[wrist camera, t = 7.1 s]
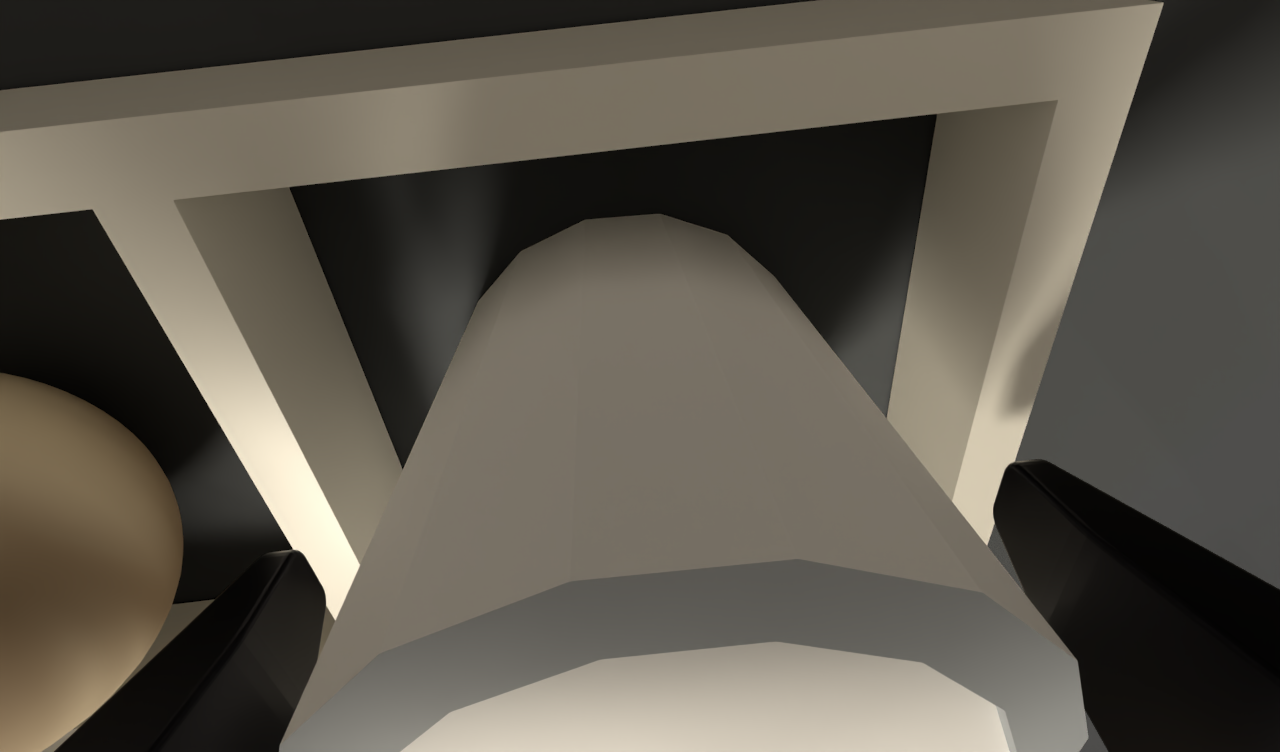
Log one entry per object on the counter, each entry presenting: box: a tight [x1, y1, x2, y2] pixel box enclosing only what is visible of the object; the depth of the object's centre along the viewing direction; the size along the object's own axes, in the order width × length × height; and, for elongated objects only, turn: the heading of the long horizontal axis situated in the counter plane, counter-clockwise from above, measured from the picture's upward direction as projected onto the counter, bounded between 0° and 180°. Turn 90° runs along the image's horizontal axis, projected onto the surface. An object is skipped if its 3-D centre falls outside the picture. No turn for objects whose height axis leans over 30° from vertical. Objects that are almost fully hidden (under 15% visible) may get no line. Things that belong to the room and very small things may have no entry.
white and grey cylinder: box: [279, 214, 1088, 752], centre depth 9 cm, size 7×7×7 cm
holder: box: [0, 0, 1164, 752], centre depth 10 cm, size 11×20×2 cm, turn 95°
